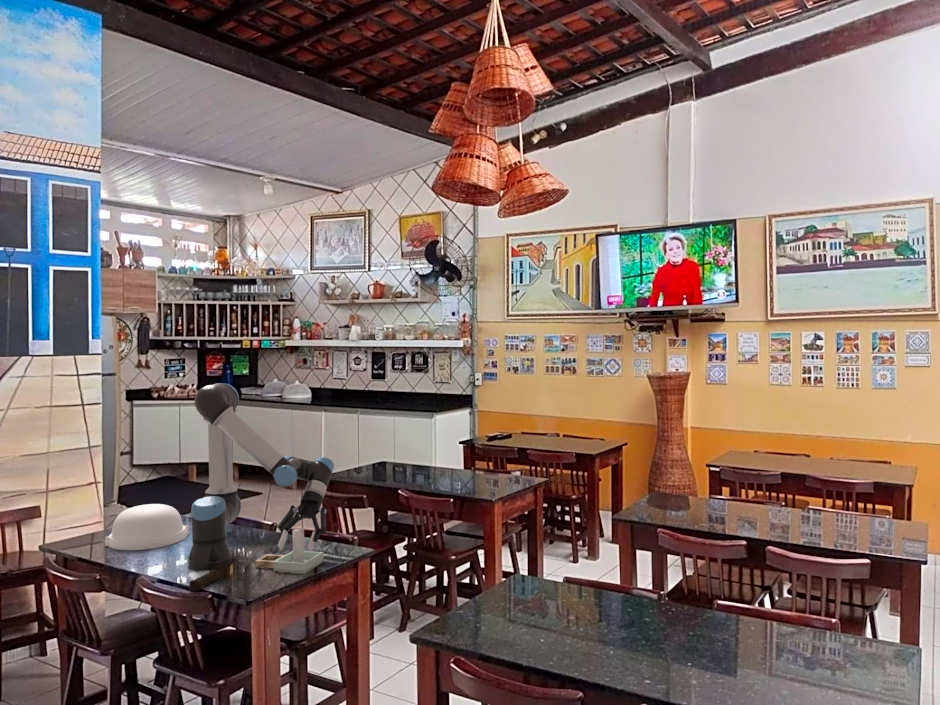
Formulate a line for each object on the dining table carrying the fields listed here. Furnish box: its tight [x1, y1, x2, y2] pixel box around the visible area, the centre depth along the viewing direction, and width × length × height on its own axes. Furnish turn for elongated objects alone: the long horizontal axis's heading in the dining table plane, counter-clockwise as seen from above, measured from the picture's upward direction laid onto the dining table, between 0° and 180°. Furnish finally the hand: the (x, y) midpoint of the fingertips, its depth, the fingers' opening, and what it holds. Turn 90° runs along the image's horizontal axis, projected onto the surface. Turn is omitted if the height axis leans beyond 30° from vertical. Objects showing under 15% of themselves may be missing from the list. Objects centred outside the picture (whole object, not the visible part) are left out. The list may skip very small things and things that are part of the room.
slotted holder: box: [254, 553, 286, 569], centre depth 268 cm, size 8×8×2 cm
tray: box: [273, 550, 324, 575], centre depth 265 cm, size 12×14×4 cm
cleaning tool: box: [292, 528, 306, 563], centre depth 265 cm, size 4×4×12 cm
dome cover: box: [104, 503, 190, 551], centre depth 307 cm, size 32×30×14 cm
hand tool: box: [188, 562, 229, 592], centre depth 250 cm, size 19×4×5 cm, turn 163°
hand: (294, 548), depth 262 cm, fingers open, 11 cm apart
